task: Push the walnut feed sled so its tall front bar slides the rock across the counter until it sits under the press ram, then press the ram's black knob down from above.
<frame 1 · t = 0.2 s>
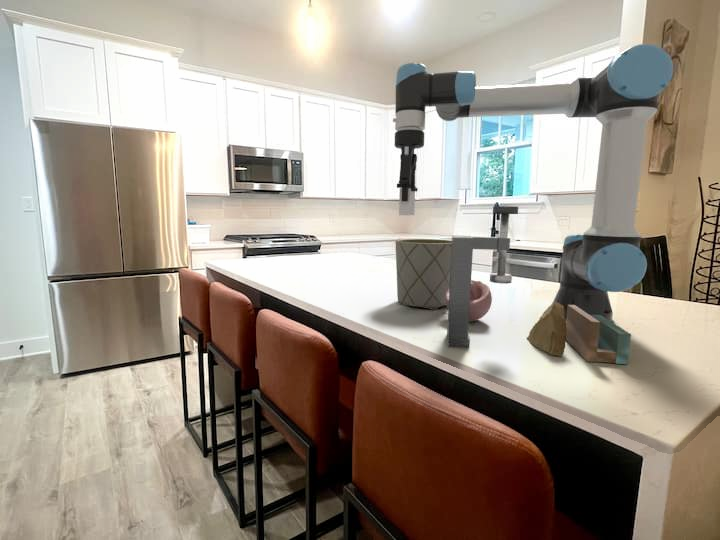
hand: (407, 215, 101), 28 cm above the worktop, fingers open, 13 cm apart
rock: (544, 348, 83), on the worktop
planter: (424, 304, 122), on the worktop
ram: (503, 244, 81), point 22 cm above the worktop, slide at 0.0 cm
press frame: (496, 343, 84), on the worktop
mortar and pestle: (466, 321, 103), on the worktop
feed sled: (594, 331, 80), point 4 cm above the worktop, slide at 0.0 cm
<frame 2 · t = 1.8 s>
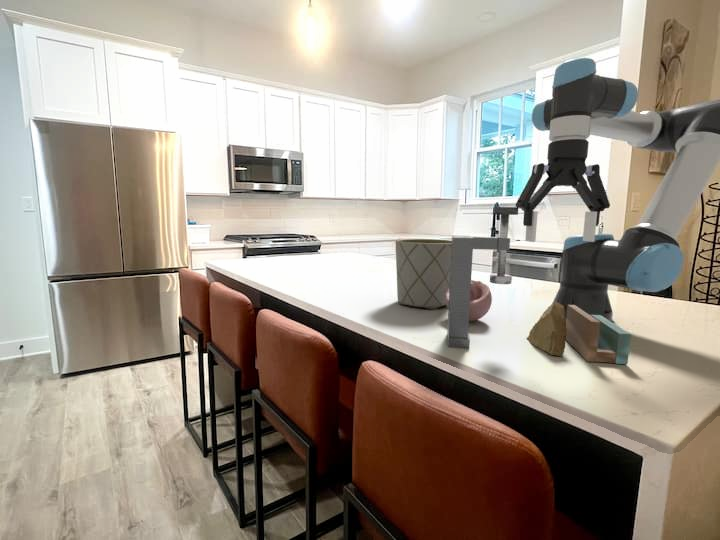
hand: (559, 241, 84), 23 cm above the worktop, fingers open, 13 cm apart
nothing on the worktop moved.
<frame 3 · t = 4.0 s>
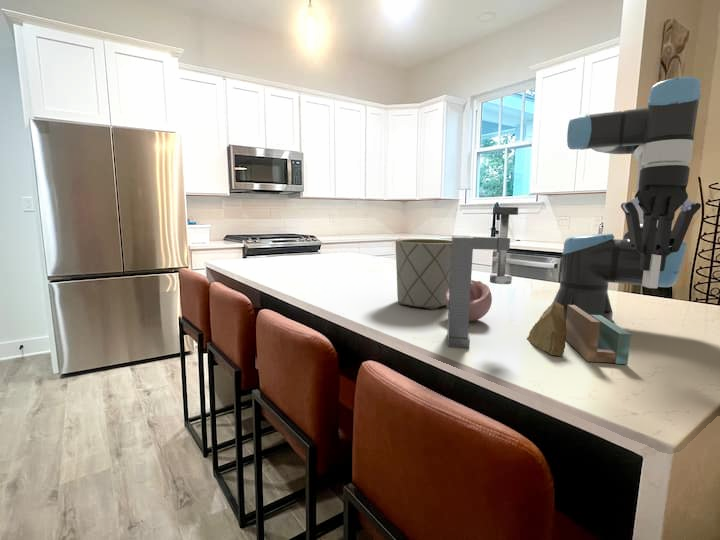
hand: (649, 286, 77), 14 cm above the worktop, fingers closed
nothing on the worktop moved.
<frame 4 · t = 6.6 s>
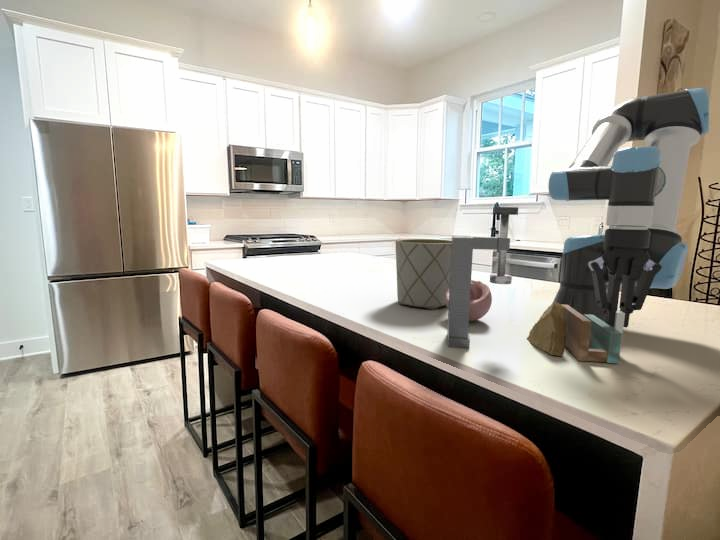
hand: (614, 341, 80), 2 cm above the worktop, fingers closed
feed sled: (587, 331, 80), point 4 cm above the worktop, slide at 1.5 cm, touching gripper
everything else where it was.
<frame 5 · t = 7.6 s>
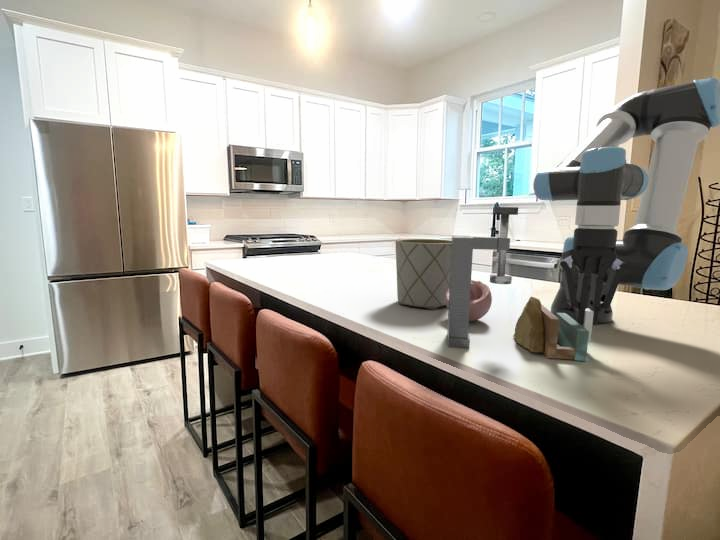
hand: (584, 339, 81), 2 cm above the worktop, fingers closed
rock: (528, 345, 83), on the worktop, touching feed sled
feed sled: (557, 329, 81), point 4 cm above the worktop, slide at 7.3 cm, touching rock, gripper
everything else where it was.
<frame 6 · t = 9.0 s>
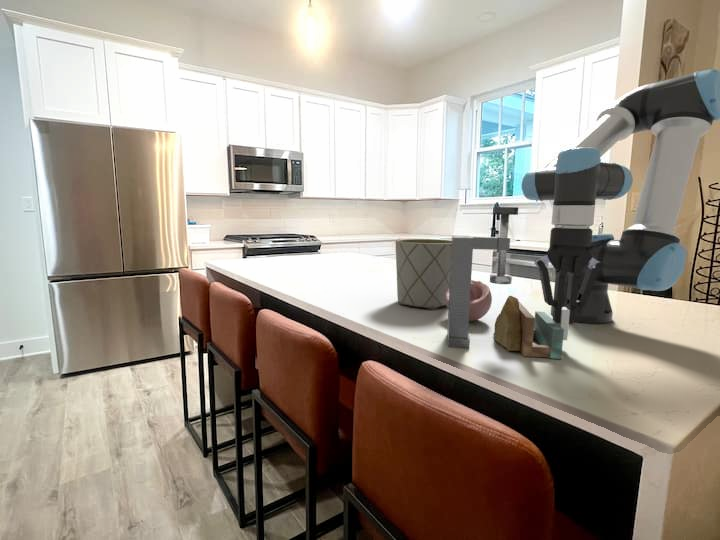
hand: (561, 337, 81), 2 cm above the worktop, fingers closed
rock: (507, 343, 84), on the worktop, touching feed sled
feed sled: (535, 328, 82), point 4 cm above the worktop, slide at 11.8 cm, touching rock, gripper
everything else where it was.
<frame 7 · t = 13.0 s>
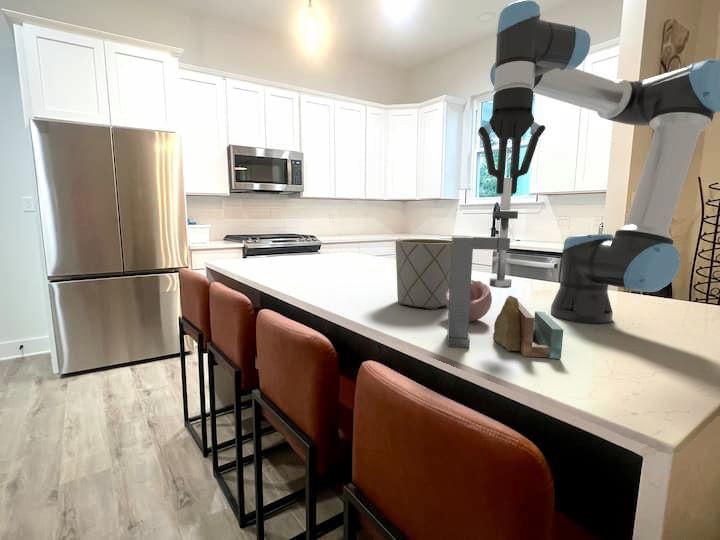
hand: (504, 209, 80), 29 cm above the worktop, fingers closed
ram: (502, 249, 81), point 21 cm above the worktop, slide at 1.0 cm, touching gripper
feed sled: (534, 327, 82), point 4 cm above the worktop, slide at 11.8 cm, touching rock
everything else where it was.
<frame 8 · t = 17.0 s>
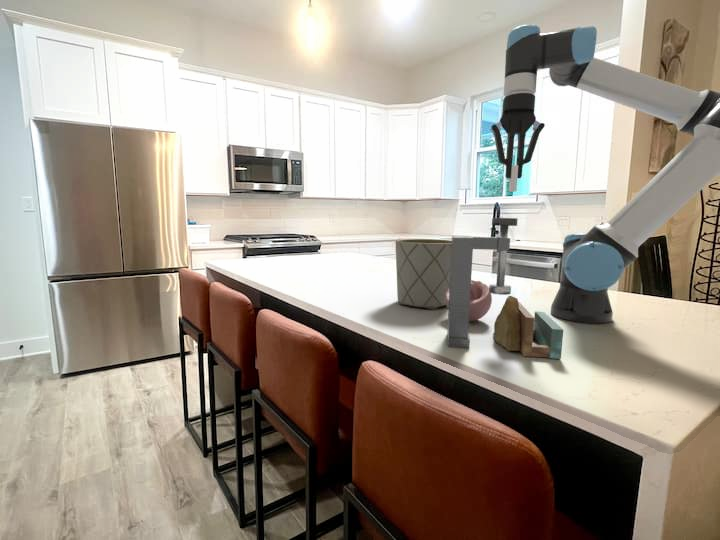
hand: (512, 191, 100), 34 cm above the worktop, fingers closed
ram: (502, 255, 82), point 20 cm above the worktop, slide at 2.4 cm
everything else where it was.
at the end: rock inside the target area (2.2 cm from its centre), on the worktop; ram slide at 2.4 cm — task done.
